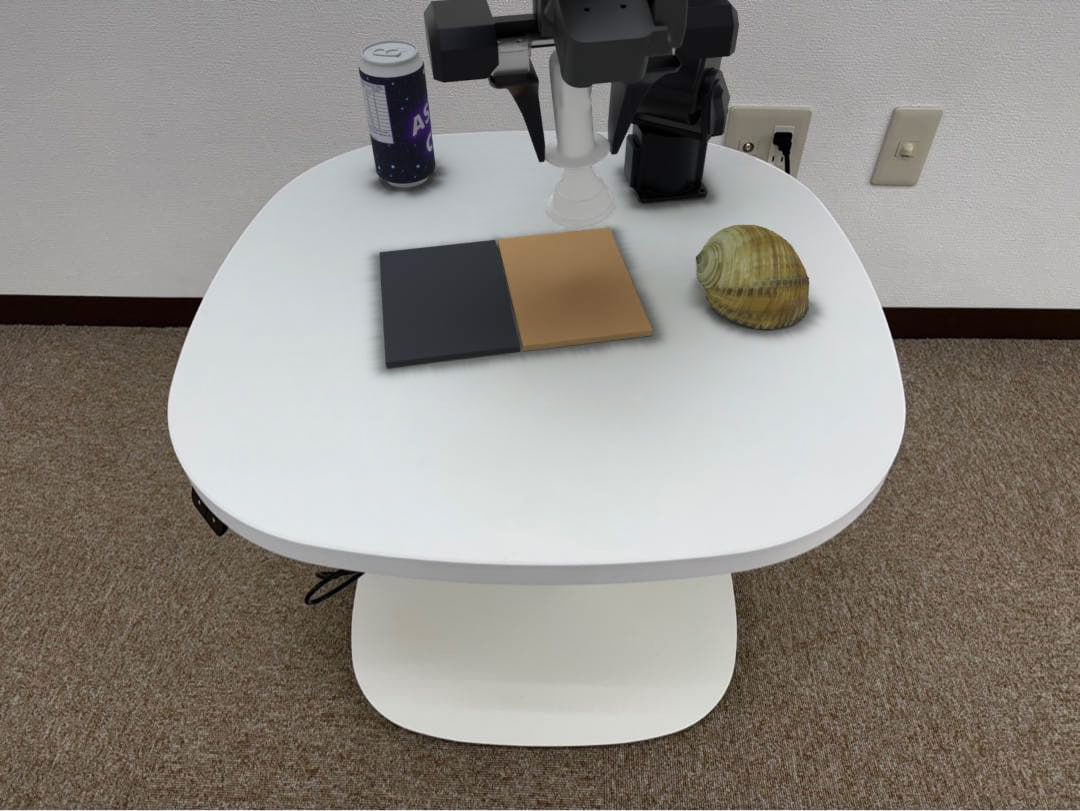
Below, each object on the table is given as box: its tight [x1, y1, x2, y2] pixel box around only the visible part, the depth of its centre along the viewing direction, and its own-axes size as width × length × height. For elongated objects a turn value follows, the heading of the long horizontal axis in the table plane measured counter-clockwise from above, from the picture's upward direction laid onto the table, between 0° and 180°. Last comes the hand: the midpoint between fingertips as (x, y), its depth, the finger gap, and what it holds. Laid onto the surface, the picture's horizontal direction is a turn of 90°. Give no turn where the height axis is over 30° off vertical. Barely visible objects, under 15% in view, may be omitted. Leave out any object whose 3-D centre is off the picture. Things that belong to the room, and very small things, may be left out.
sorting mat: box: [379, 227, 653, 369], centre depth 64 cm, size 20×14×1 cm
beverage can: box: [358, 39, 437, 189], centre depth 73 cm, size 6×6×12 cm
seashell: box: [695, 224, 810, 331], centre depth 62 cm, size 10×7×8 cm
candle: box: [544, 49, 619, 229], centre depth 54 cm, size 5×5×12 cm
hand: (576, 155), depth 55 cm, fingers closed on candle, 5 cm apart
